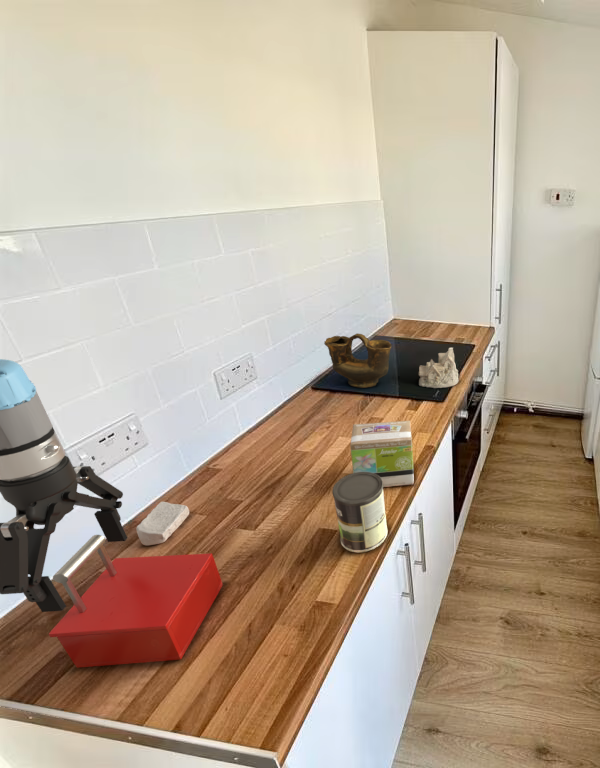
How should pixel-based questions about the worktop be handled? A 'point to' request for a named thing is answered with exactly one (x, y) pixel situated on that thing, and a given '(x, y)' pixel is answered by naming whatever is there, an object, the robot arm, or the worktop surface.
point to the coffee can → (360, 511)
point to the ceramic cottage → (439, 371)
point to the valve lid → (127, 591)
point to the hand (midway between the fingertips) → (89, 571)
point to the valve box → (149, 632)
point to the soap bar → (161, 523)
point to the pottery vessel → (357, 369)
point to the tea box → (384, 451)
